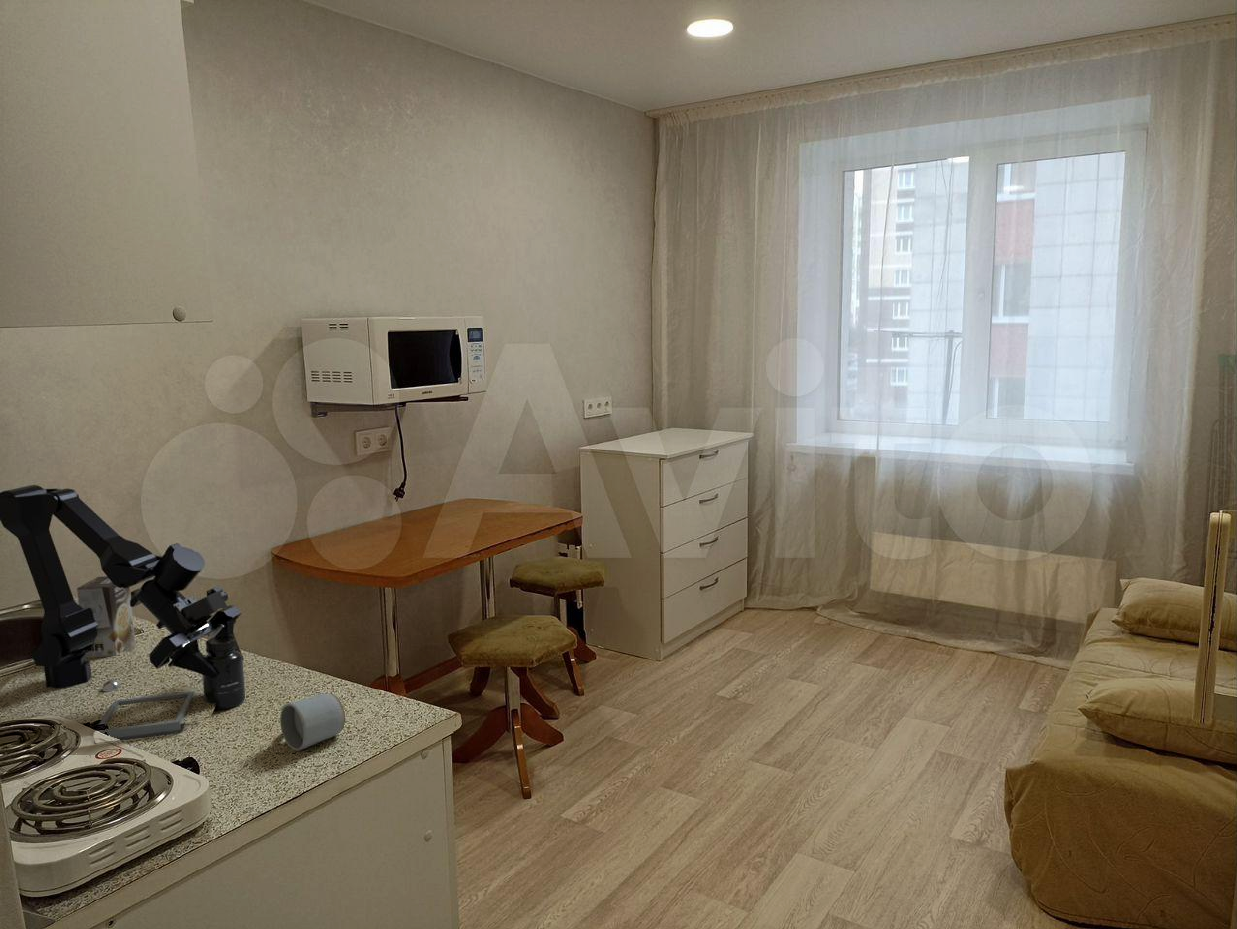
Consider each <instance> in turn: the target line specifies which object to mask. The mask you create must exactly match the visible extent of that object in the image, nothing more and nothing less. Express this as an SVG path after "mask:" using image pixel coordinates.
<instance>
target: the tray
mask: <svg viewBox="0 0 1237 929" xmlns="http://www.w3.org/2000/svg"><path fill="white" fill-rule="evenodd" d="M195 694H196V693H195V690H193V691H191V690H190V691H183V692H177V693H167V694H158V695H150V696H149V695H148V696H142V697H133V698H125V699H124V698H123V699H117V700H114V702H113V703H112V704H111V706H110V707H109V709H108V711H107V712H106V713H105V715H104V716H103V718H102V719H101V721H100V722H99V723H102V724H105V726H106V725H107V724H108V722H109V721H110V719H111V718H112V716H113V715H114V713H115V712H116V710H117V709H118V708H119V705H126V704H127V705H128V704H136V703H143V702H151V701H161V700H169V699H178V698H185V697H186V698H185V700H184V702H183V704H182V706H181V708H180V710H179V712H178V715H177V716H176V718H175V720H168V721H161V722H153V723H144V724H137V725H127V726H121V727H120V726H119V727H114V728H113V727H111V728H106V729H105V728H104V729H105V730H100V732H102V733H105V732H107V734H108V735H110V736H111V737H114V738H117V739H120V740H122V741H127V740H128V741H129V740H136V739H137V740H138V739H143V738H151V737H159V736H168V735H174V734H175V735H176V734H181V733H182V731H183V729H184V727H185V725H186V723H185V722H184V723H182V721H183V719H184V717H185V715H186V713H187V711H188V710H189V707H190V704H191V702H192V701H193V699H194V696H195Z"/></svg>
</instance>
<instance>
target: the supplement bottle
mask: <svg viewBox="0 0 1237 929" xmlns="http://www.w3.org/2000/svg"><path fill="white" fill-rule="evenodd" d="M235 639H236V637H235V638H234V637H232V636H219V637H214V638H211V637H210V638H209V639H208V640H206V642H205V646H206V647H205V653H206V655H204V657H205V658H206V659H207V660H208V661H209V662H210V663H211V665H212V666H213V667H214V668H215V670H216V671H217V672H218V676H217V677H216V678H211V677H208V676H205V675H202V674H201V675H202V686H203V688H202V690H203V698H204V702H206V703H209V704H214V705H215V706H214V708H213V710H214V711H222V710H223V711H224V710H229V709H233V708H235V707H238V706H240V705H241V704H243V703H244V702H245V699H246V688H245V687H246V686H245V675H244V674H245V673H244V672H245V671H244V662H243V661H244V660H243V658H244V657H243V658H242V656H243V654H242V655H241V653H242V652H241V653H240V652H238V651H236V650H235V649H236V644H235Z"/></svg>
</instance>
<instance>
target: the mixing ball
mask: <svg viewBox="0 0 1237 929" xmlns="http://www.w3.org/2000/svg"><path fill="white" fill-rule="evenodd" d="M121 688H122V685H121V682H119V681H118V680H116V679H111V680H108V681H105V683H104V684H103V686H102V692H104V693H110V692H115V691H118V690H119V689H121Z"/></svg>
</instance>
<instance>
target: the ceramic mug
mask: <svg viewBox="0 0 1237 929" xmlns="http://www.w3.org/2000/svg"><path fill="white" fill-rule="evenodd" d="M339 698H340V697H338V696H336V695H335V694H333V693H328V692H327V693H321V694H316V695H313V696H309V697H306V698H303V699H298V700H296V701H295V700H294V701H291V702H288V703H286V704H284V706H283V707H282V709H281V710H280V716H279V717H280V718H279V723H280V729H281V733H282V736H283V738H284V741H285V743H286V744H287V745H288V746H289V748H291V749H292V750H294V751H297V752H299V751H302V750H304V749H306V748H309V747H311V746H314V745H316V744H319V743H320V742H323V741H326V740H329V739H331V738H333V737H335V736H336V735H339V734H340V733H341V732H342V731H343V729H344V727H345V724H346V712H345V711H346V710H345V709H344V705H343V703H342V701H341V700H340V699H339Z"/></svg>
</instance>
